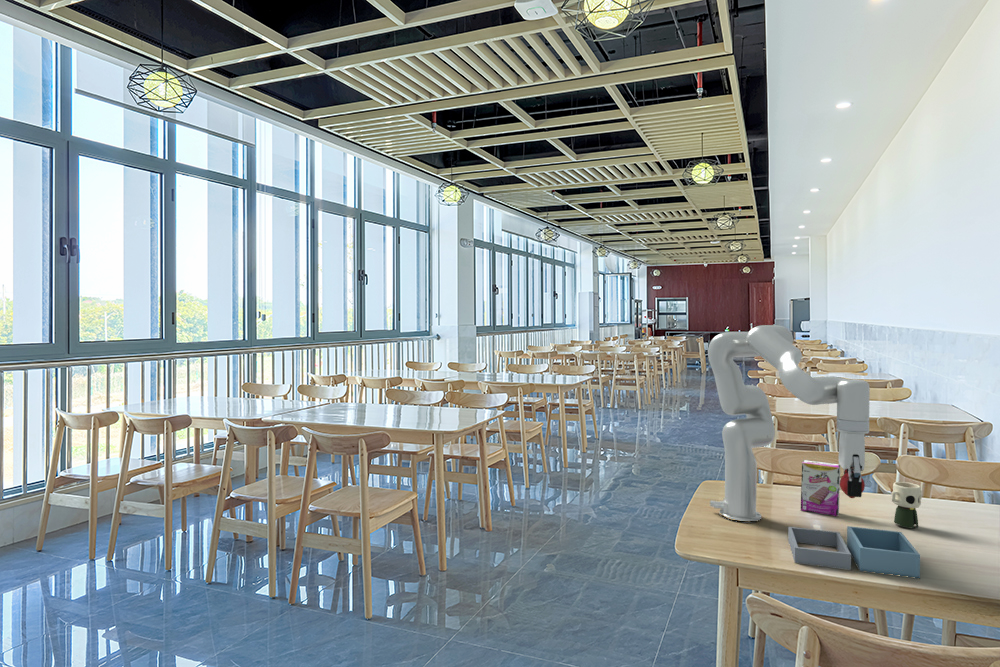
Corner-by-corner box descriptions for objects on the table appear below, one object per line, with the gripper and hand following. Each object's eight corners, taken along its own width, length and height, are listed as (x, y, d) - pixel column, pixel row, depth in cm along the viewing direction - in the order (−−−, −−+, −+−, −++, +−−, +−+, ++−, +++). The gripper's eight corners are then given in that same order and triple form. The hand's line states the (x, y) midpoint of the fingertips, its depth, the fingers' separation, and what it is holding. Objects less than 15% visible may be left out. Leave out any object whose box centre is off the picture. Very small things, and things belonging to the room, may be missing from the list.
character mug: (901, 531, 182) (902, 489, 182) (881, 523, 189) (882, 482, 189) (930, 529, 185) (931, 486, 184) (910, 521, 192) (911, 480, 191)
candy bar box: (800, 511, 202) (801, 462, 201) (802, 507, 206) (802, 459, 205) (838, 517, 196) (839, 466, 195) (839, 513, 200) (840, 463, 199)
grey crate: (794, 562, 159) (795, 547, 159) (788, 540, 175) (788, 526, 175) (850, 569, 155) (851, 554, 155) (838, 546, 171) (839, 532, 171)
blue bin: (859, 571, 154) (860, 547, 154) (846, 547, 170) (847, 526, 170) (919, 578, 150) (920, 554, 150) (900, 553, 166) (901, 531, 166)
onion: (868, 502, 158) (868, 471, 158) (843, 500, 160) (844, 470, 159) (860, 495, 164) (860, 466, 164) (836, 494, 165) (837, 465, 165)
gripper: (832, 420, 171) (831, 483, 171) (841, 430, 155) (841, 500, 155) (862, 421, 168) (862, 486, 168) (875, 432, 152) (875, 503, 152)
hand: (852, 492), depth 162 cm, fingers closed on onion, 5 cm apart
